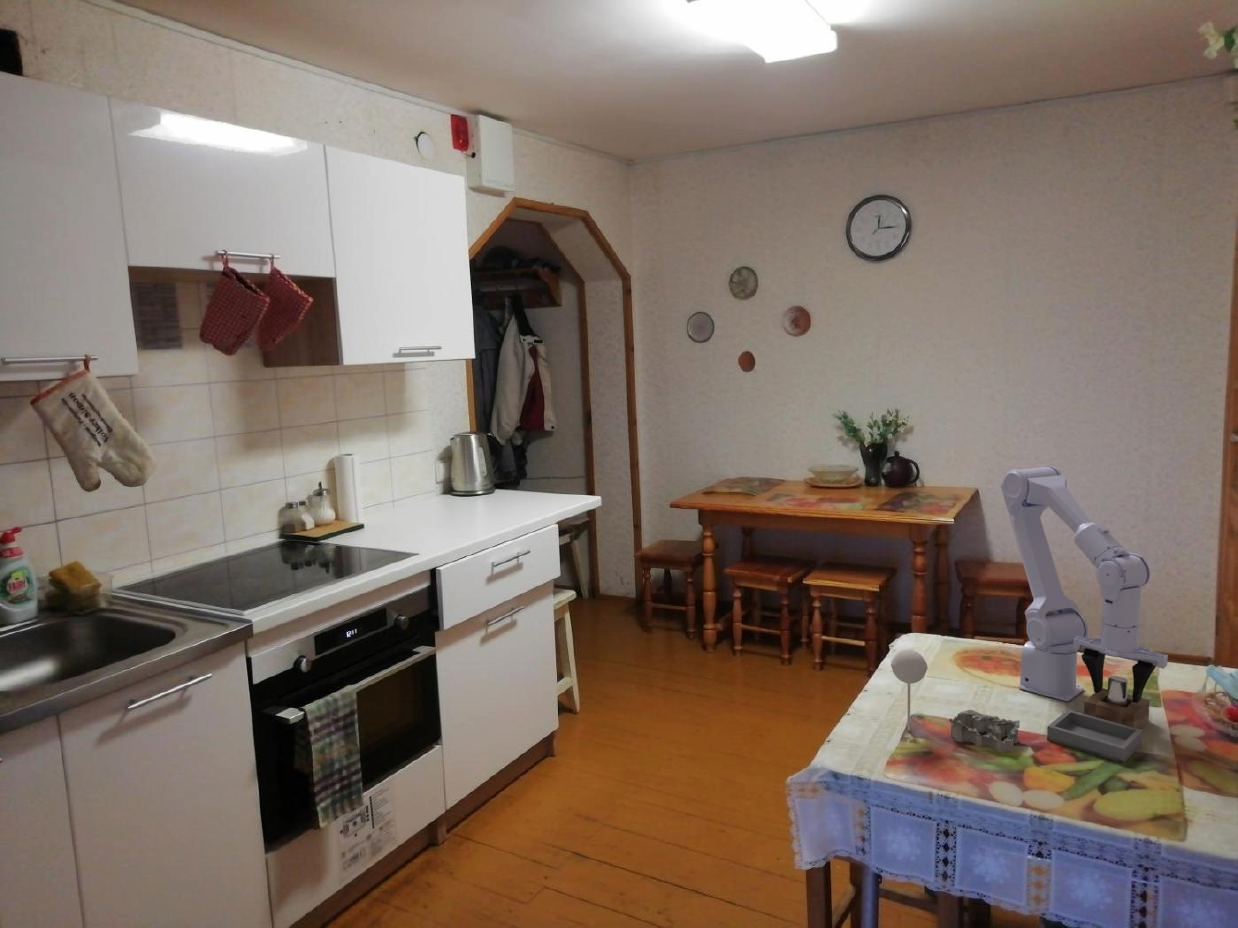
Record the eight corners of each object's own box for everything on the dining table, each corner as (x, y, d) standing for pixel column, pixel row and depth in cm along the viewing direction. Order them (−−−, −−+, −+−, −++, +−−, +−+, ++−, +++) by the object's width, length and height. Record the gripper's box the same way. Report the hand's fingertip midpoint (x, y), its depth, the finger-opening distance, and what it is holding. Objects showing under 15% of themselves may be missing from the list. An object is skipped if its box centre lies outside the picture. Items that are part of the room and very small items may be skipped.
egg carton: (945, 740, 150) (945, 718, 150) (961, 724, 156) (961, 703, 155) (1009, 757, 143) (1009, 734, 143) (1023, 739, 149) (1023, 717, 148)
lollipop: (928, 725, 155) (929, 646, 153) (925, 740, 150) (926, 658, 148) (892, 720, 158) (893, 642, 155) (888, 734, 152) (888, 654, 150)
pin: (1103, 721, 154) (1105, 679, 152) (1109, 716, 156) (1111, 674, 154) (1122, 727, 151) (1124, 684, 150) (1128, 721, 153) (1130, 679, 152)
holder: (1083, 722, 154) (1084, 701, 153) (1100, 707, 159) (1101, 687, 158) (1133, 736, 148) (1134, 714, 147) (1148, 720, 153) (1149, 699, 152)
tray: (1046, 739, 148) (1047, 726, 148) (1067, 722, 154) (1068, 709, 154) (1123, 763, 139) (1124, 748, 139) (1142, 743, 145) (1142, 730, 145)
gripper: (1067, 619, 153) (1065, 691, 155) (1159, 638, 143) (1155, 714, 145) (1083, 609, 158) (1080, 679, 160) (1173, 627, 147) (1169, 701, 149)
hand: (1117, 695), depth 153 cm, fingers open, 6 cm apart
